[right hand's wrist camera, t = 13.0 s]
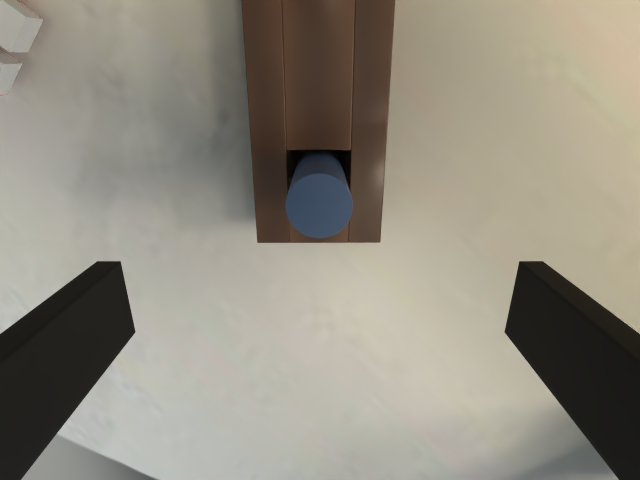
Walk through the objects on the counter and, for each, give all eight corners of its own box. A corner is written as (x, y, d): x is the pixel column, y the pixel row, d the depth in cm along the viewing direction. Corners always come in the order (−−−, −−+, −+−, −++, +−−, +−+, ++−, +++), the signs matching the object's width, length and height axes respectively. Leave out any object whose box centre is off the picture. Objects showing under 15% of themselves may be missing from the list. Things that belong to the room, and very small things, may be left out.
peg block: (392, -155, 26) (422, -258, 18) (372, 223, 35) (386, 257, 28) (244, -156, 25) (213, -258, 18) (265, 223, 35) (251, 258, 28)
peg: (342, 145, 33) (354, 173, 22) (341, 190, 34) (351, 238, 23) (295, 145, 33) (284, 173, 22) (297, 190, 34) (286, 238, 23)
